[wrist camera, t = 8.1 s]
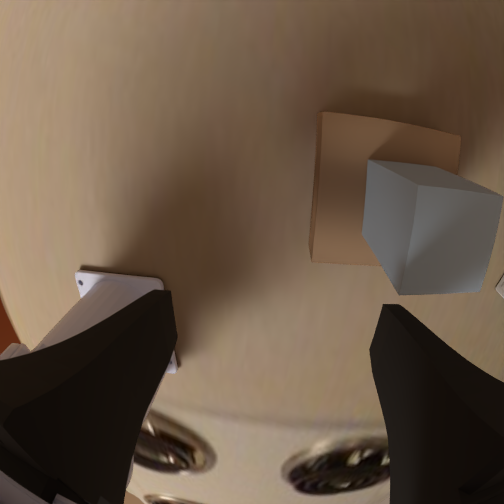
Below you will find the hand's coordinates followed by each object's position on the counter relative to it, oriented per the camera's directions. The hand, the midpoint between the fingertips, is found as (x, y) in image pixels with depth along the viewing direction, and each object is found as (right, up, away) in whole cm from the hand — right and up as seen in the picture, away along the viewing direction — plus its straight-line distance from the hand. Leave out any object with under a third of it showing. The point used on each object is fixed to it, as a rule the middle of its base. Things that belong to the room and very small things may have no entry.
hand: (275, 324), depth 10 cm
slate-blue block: (+7, +5, +4) cm, 10 cm away
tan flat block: (+7, +6, +7) cm, 12 cm away
